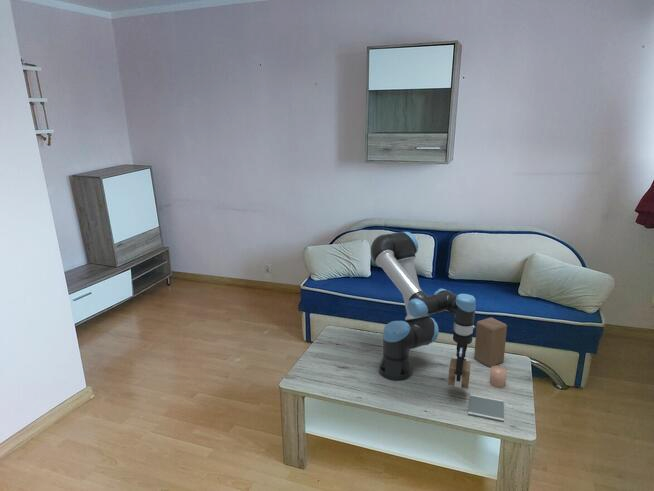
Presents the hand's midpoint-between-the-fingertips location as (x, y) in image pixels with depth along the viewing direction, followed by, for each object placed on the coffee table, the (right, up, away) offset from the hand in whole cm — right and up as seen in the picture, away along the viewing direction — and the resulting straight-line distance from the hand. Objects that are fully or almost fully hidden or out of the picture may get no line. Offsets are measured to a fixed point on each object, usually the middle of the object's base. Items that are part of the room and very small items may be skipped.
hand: (458, 380), depth 182 cm
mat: (+9, -9, -8) cm, 15 cm away
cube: (0, 0, 0) cm, 0 cm away
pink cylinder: (+19, -4, +8) cm, 22 cm away
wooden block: (+23, +1, +27) cm, 35 cm away
